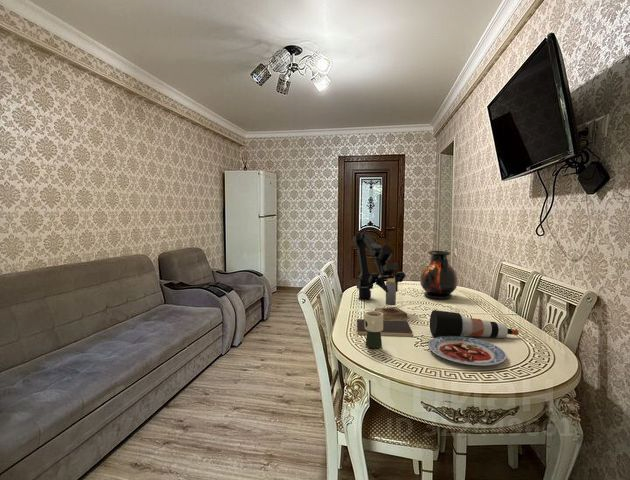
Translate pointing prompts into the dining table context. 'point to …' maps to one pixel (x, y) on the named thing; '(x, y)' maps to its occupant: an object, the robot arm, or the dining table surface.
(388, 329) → the hardcover book
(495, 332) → the black white tapered cylinder
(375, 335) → the character mug
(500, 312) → the dining table surface
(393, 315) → the brown square frame
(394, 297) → the grey and tan cylinder
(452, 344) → the ceramic plate
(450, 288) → the dark orange vase
